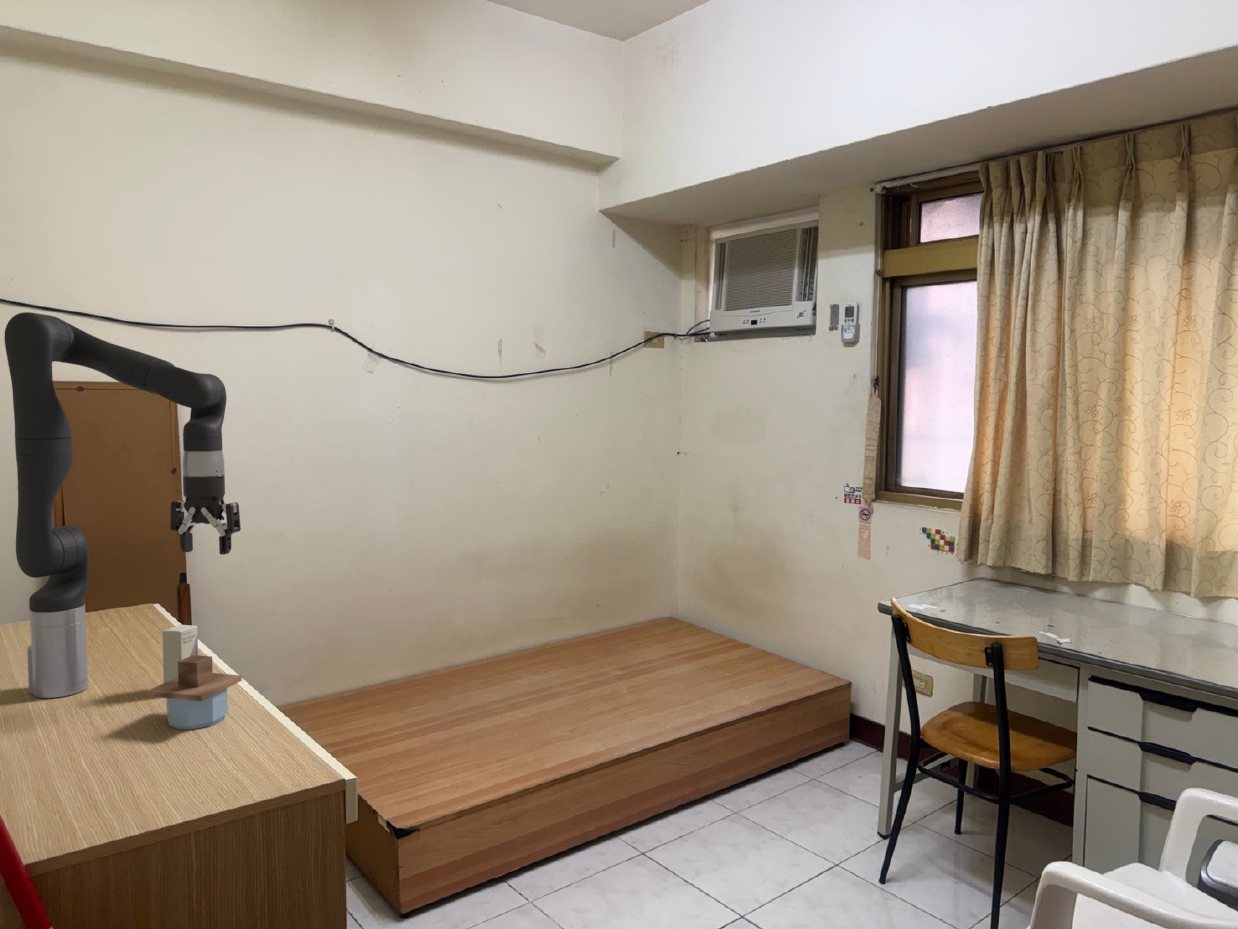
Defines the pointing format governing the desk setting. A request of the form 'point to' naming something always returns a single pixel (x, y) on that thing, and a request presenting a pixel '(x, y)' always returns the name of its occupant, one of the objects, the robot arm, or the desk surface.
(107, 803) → the desk surface
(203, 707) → the bowl
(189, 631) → the box
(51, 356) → the robot arm
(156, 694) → the lid
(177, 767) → the desk surface
